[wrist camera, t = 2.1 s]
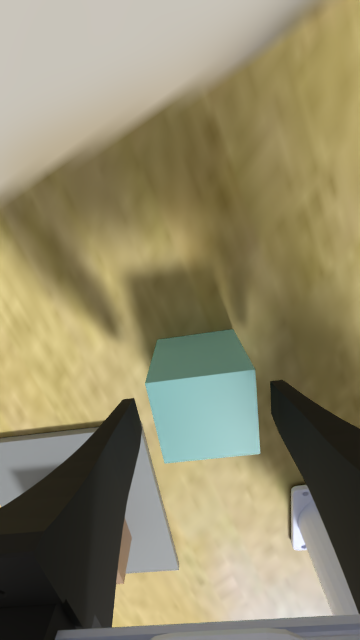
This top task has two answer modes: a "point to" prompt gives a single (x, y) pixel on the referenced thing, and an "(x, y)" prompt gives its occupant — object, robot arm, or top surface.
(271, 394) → the robot arm
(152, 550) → the build base
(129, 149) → the top surface
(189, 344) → the teal block
